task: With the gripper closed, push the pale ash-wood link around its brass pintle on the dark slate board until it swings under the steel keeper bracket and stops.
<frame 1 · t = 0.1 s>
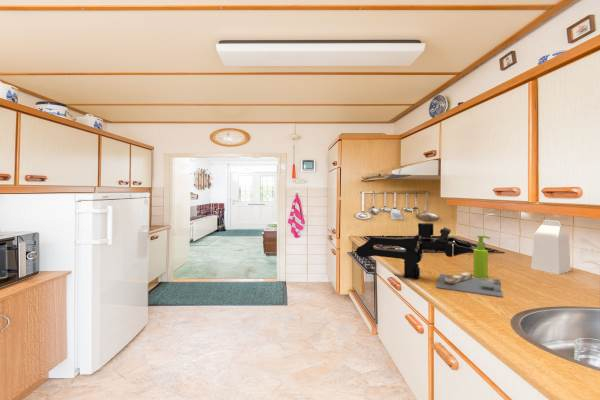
hand: (471, 248, 129), 17 cm above the countertop, tool horizontal, fingers open, 9 cm apart
link: (458, 277, 134), point 2 cm above the countertop, hinge at 60.0°
milk: (550, 270, 151), on the countertop
soap dispenser: (481, 276, 142), on the countertop
keeper: (496, 290, 122), resting on board
board: (467, 284, 130), on the countertop
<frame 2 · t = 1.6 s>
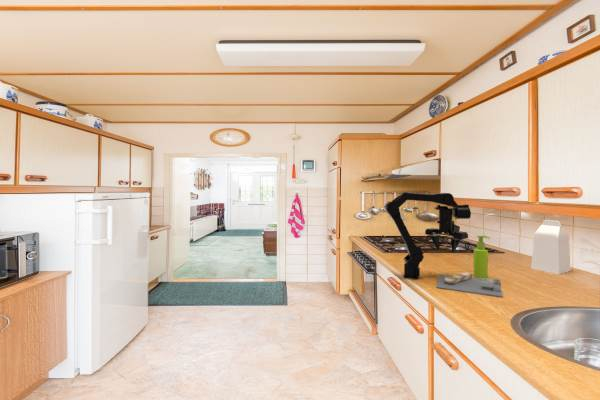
hand: (445, 251, 139), 13 cm above the countertop, tool pointing down, fingers open, 8 cm apart
nothing on the countertop moved.
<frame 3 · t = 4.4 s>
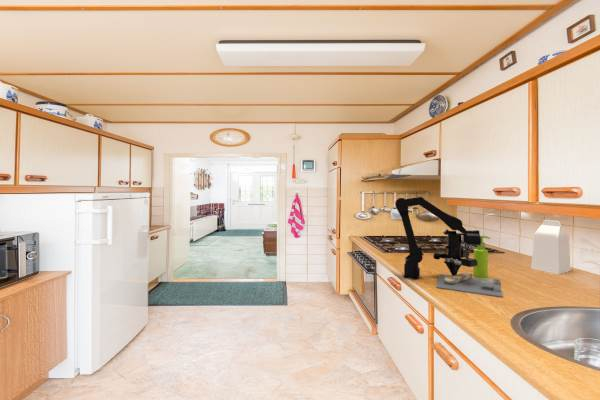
hand: (454, 277, 136), 2 cm above the countertop, tool pointing down, fingers closed
link: (458, 277, 134), point 2 cm above the countertop, hinge at 60.0°, touching gripper
everything else where it was.
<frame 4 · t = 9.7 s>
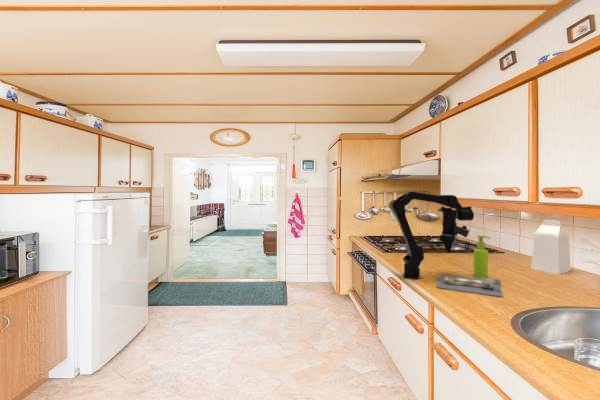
hand: (448, 252, 141), 12 cm above the countertop, tool pointing down, fingers closed
link: (466, 281, 128), point 2 cm above the countertop, hinge at 3.9°
everything else where it was.
at the end: link at +4° (first picture: +60°); soap dispenser moved 0.2 cm from its start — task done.
